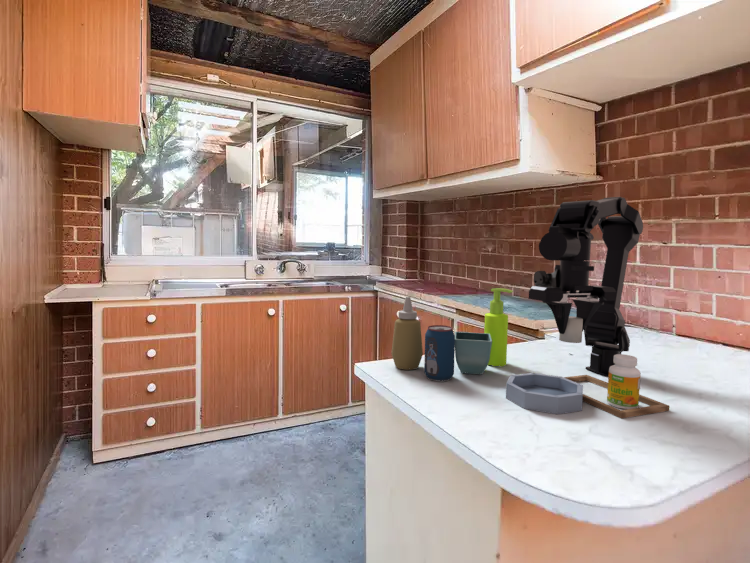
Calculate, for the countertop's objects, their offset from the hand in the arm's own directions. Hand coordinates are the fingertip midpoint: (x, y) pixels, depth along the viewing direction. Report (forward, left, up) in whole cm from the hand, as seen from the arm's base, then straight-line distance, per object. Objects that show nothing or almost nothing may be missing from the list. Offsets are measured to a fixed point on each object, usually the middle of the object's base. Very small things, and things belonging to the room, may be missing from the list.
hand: (570, 333), depth 90 cm
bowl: (+9, +3, -13) cm, 16 cm away
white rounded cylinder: (0, 0, -2) cm, 2 cm away
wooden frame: (-4, +5, -13) cm, 14 cm away
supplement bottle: (-4, +10, -13) cm, 17 cm away
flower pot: (+13, -18, -13) cm, 25 cm away
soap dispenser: (+3, -22, -13) cm, 25 cm away
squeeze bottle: (+27, -26, -13) cm, 39 cm away
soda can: (+23, -16, -13) cm, 31 cm away
